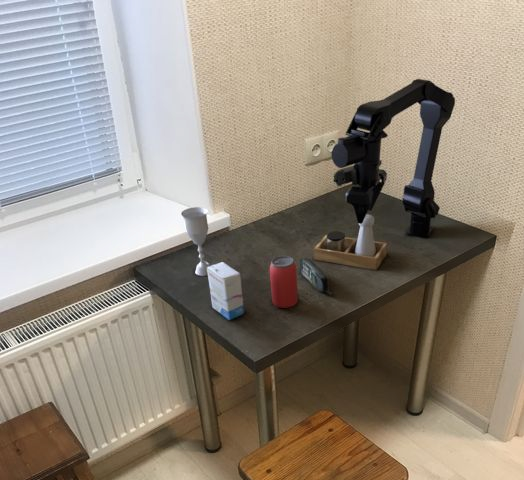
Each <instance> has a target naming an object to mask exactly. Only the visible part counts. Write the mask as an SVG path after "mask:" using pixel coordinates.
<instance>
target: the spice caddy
mask: <svg viewBox="0 0 524 480" xmlns="http://www.w3.org/2000/svg"><path fill="white" fill-rule="evenodd" d="M327 234H328V233H327ZM327 234H325V235H324V236H323V238H322V239H321V240H320V241H319V243H318V244H317V245H316V246H315V247H314V248H313V260H315V261H320V262H326V263H332V264H338V265H344V266H350V267H355V268H363V269H368V270H375V271H376V270H378V268H379V266H380V265H381V264H382V262H383V261H384V259H385V258H386V256H387V253H388V243H387V242H384V241H383V242H382V241H375V240H374V243H375V249H376V253H375V256H374V257H371V256H365V255H358V254H355V249H356V245H357V240H358V238H354V237H347V236H345V252H339V251H333V250H327Z"/></svg>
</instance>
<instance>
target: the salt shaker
mask: <svg viewBox="0 0 524 480" xmlns="http://www.w3.org/2000/svg"><path fill="white" fill-rule="evenodd" d="M357 224H358V225H359V226H360V227H359V231H358V235H357V239H358V240H357V245H356V249H355V253H354V254H358V255H365V256H371V257H375V256H376V254H375V253H376V249H375V243H374V241H375V238H374V232H373V226H374V225H375V217H374V216H373V215H372V214H368V213H367V214H366V216H365V218H364V221H363V223H362V224H359V223H358V222H357Z"/></svg>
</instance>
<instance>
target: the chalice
mask: <svg viewBox="0 0 524 480" xmlns="http://www.w3.org/2000/svg"><path fill="white" fill-rule="evenodd" d="M208 211H209V210H208V209H207V208H204V207H200V206H195V207H189V208H186V209H183V210H182V211H181V213H180V215H181V216H182V218H183V222H184V227H185V232H186V234H187V235H188V237H189V238H190V241H192V242H193V244H194V245H197V246H198V247H197V252H198V253H199V255H198V258H199V260H200V262H199V263H197V264H196V268H195V274H196V275H197V276H201V277H203V276H208V272H207V268H208V267H209V266H211V265H210V263H208V262H207V261H206V260H205V257H206V255H205V254H204V248H203V247H202V246H203V244H205V242H206V239H207V237H208V232H209V224H208V216H207V215H208Z"/></svg>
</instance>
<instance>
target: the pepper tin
mask: <svg viewBox="0 0 524 480" xmlns="http://www.w3.org/2000/svg"><path fill="white" fill-rule="evenodd" d="M345 237H346V233H344V232H343V231H340V230H334V231H330V232H328V233H327V248H326V250H333V251H339V252H345V251H346V249H345Z"/></svg>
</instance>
